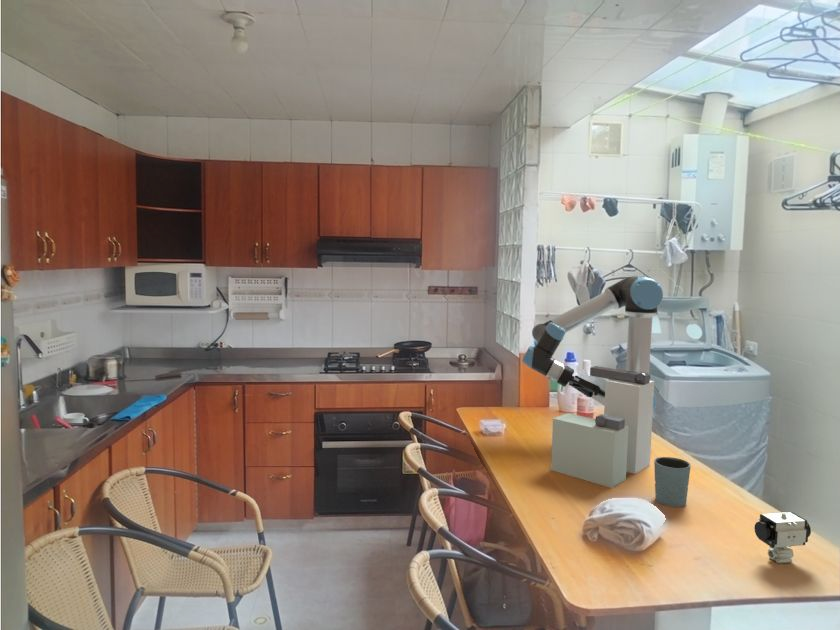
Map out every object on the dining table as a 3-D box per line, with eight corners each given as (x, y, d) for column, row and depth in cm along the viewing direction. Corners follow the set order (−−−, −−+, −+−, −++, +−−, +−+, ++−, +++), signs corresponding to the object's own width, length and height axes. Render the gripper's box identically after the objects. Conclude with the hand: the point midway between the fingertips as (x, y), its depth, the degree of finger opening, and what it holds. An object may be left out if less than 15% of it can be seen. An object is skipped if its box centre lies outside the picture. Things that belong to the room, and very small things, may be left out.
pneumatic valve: (751, 557, 146) (755, 510, 145) (793, 553, 148) (797, 507, 147) (768, 568, 141) (771, 520, 139) (811, 565, 142) (815, 517, 141)
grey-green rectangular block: (551, 469, 203) (553, 408, 201) (566, 462, 210) (568, 403, 208) (611, 488, 188) (614, 422, 186) (625, 479, 195) (629, 415, 193)
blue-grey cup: (672, 510, 172) (674, 470, 171) (644, 497, 181) (646, 459, 180) (696, 504, 177) (698, 464, 176) (667, 491, 186) (670, 454, 184)
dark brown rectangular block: (589, 375, 213) (589, 366, 213) (596, 373, 217) (596, 364, 217) (643, 384, 200) (644, 374, 199) (650, 382, 203) (650, 372, 203)
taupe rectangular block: (601, 464, 208) (605, 380, 205) (617, 456, 217) (621, 375, 214) (635, 474, 200) (639, 386, 197) (649, 465, 209) (654, 381, 206)
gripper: (553, 385, 241) (601, 412, 236) (559, 378, 217) (612, 408, 212) (562, 369, 242) (610, 396, 237) (569, 360, 218) (622, 390, 213)
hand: (611, 402), depth 224 cm, fingers open, 13 cm apart
